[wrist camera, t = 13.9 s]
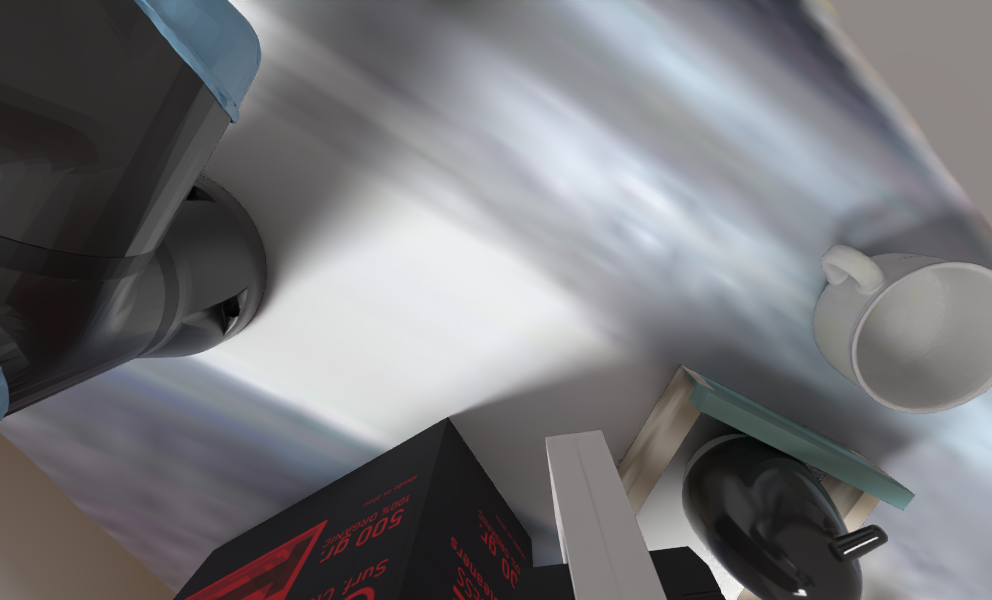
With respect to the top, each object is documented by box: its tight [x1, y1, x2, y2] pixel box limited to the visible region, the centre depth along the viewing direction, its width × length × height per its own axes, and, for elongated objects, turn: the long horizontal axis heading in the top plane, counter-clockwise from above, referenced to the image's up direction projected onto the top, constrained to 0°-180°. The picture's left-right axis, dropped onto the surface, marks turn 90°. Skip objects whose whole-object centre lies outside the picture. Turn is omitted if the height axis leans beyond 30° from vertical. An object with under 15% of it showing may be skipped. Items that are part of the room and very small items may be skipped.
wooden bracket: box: [617, 365, 915, 600], centre depth 42 cm, size 18×18×6 cm
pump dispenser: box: [682, 434, 888, 600], centre depth 37 cm, size 10×10×15 cm
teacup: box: [813, 245, 992, 414], centre depth 37 cm, size 14×11×8 cm
